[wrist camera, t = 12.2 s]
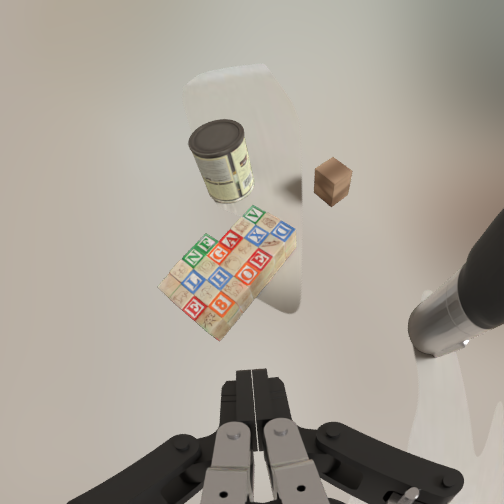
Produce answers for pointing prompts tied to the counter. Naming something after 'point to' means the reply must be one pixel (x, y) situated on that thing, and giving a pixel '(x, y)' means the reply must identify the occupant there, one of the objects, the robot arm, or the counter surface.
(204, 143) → the coffee can
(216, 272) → the stack of blocks
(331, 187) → the walnut block
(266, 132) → the counter surface
